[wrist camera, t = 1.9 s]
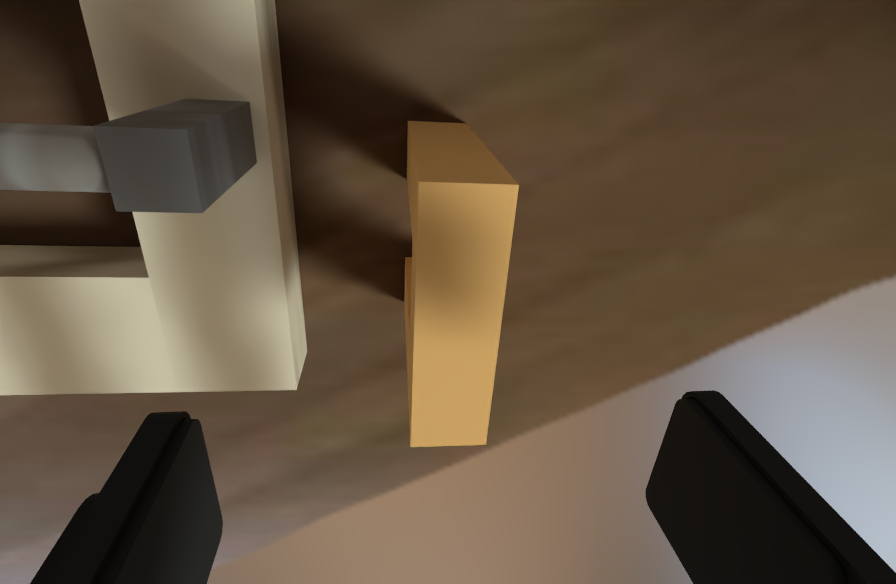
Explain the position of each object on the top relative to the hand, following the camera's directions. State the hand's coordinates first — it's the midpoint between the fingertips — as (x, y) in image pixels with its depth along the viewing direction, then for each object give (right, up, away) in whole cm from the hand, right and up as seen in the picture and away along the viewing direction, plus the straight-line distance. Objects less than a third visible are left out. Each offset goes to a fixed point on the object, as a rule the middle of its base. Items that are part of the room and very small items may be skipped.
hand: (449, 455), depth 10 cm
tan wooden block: (-1, +7, +12) cm, 14 cm away
